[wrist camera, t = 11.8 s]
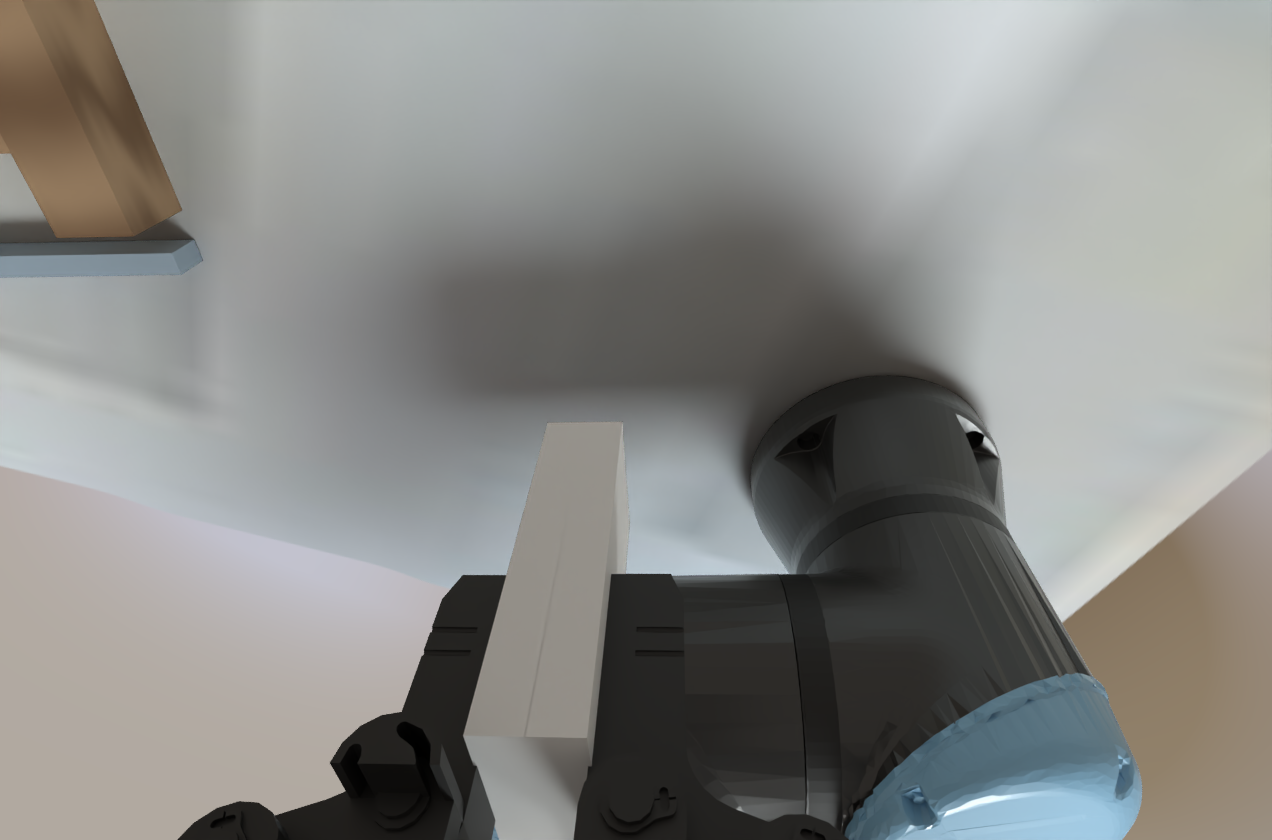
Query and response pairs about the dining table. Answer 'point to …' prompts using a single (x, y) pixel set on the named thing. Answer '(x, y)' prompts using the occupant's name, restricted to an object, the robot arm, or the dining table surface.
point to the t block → (77, 123)
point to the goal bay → (98, 258)
